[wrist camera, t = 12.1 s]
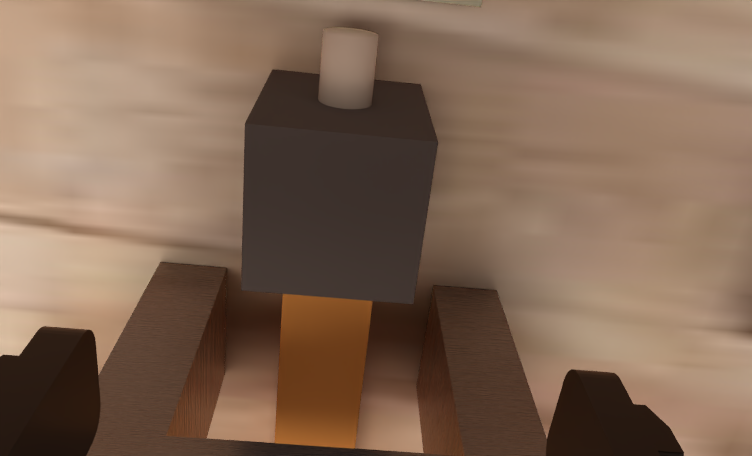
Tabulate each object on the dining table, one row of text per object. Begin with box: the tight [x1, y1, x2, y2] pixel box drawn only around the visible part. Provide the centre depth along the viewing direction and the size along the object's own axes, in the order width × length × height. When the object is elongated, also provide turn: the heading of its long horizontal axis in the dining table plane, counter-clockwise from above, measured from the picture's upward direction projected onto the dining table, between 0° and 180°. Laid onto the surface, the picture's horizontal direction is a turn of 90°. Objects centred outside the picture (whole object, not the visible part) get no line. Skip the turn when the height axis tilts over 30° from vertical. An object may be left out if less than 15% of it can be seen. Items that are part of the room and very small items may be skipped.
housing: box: [86, 262, 547, 456], centre depth 22 cm, size 6×13×13 cm, turn 84°
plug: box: [241, 27, 438, 449], centre depth 25 cm, size 25×5×6 cm, turn 174°
